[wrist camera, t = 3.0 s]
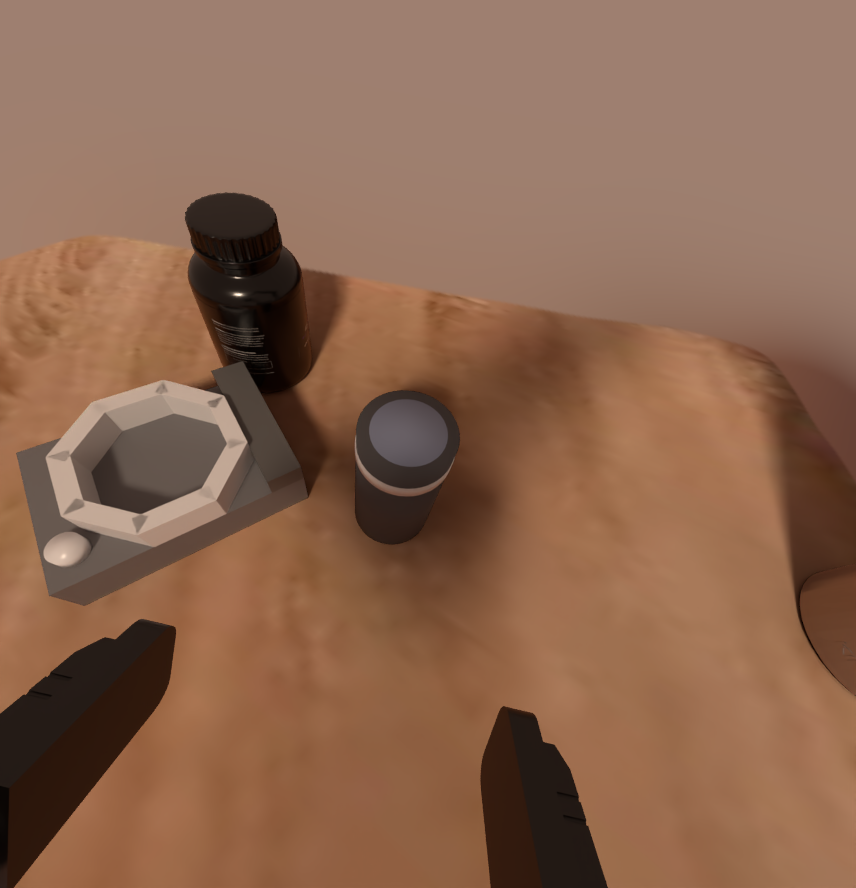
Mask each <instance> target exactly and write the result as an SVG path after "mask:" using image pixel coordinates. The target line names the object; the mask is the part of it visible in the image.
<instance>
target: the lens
mask: <svg viewBox="0 0 856 888" xmlns="http://www.w3.org/2000/svg"><path fill="white" fill-rule="evenodd" d="M459 442H460V433H459V428H458V425H457V422H456V420H455V418H454V417H453V415H452V414H451V412H450V411H449V410H448V409H447V408H446V407H445V406H444V405H443V404H442V403H440V402H439V401H438V400H436V399H434V398H433V397H431V396H428V395H426V394H423V393H420V392H415V391H405V390H401V391H393V392H389V393H386V394H383V395H381V396H379V397H377V398H375V399H374V400H372V401H371V402H370V403H369V404H368V405H367V406H366V407H365V408H364V409H363V411H362V412H361V414H360V416H359V418H358V422H357V427H356V438H355V457H356V477H355V515H356V519H357V522H358V524H359V526H360V528H361V529H362V530H363V532H364V533H365V534H366V535H367V536H369V537H370V538H372V539H373V540H375V541H377V542H380V543H385V544H399V543H403V542H406V541H408V540H410V539H412V538H413V537H414V536H416V535H417V534H418V533H419V531H420V530H421V529H422V527H423V526H424V523H425V521H426V519H427V517H428V515H429V512H430V510H431V508H432V506H433V504H434V501H435V499H436V497H437V495H438V493H439V490H440V488H441V486H442V484H443V482H444V479H445V478H446V476H447V475H448V473H449V471H450V469H451V466H452V464H453V462H454V459H455V455H456V453H457V451H458V447H459Z"/></svg>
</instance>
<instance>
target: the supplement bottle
mask: <svg viewBox="0 0 856 888" xmlns="http://www.w3.org/2000/svg"><path fill="white" fill-rule="evenodd" d="M185 215H186V216H185V221H186V224H187V227H188V230H189V232H190V235H191V243H192V246H193V249H194V251H195V253H194V254H193V256H192V258H191V260H190V262H189V266H188V280H189V284H190V286H191V289H192V292H193V294H194V297H195V299H196V302H197V304H198V307H199V309H200V312H201V314H202V317H203V319H204V321H205V324H206V326H207V329H208V331H209V334H210V336H211V339H212V341H213V344H214V346H215V349H216V351H217V353H218V356H219V358H220V361H221V363H222V365H223V367H226V366H229V365H232V364H235V363H238V362H241V361H243V363H244V364H245V366H246V368H247V370H248V372H249V373H250V375H251V377H252V379H253V381H254V383H255V384H256V386H257V388H258V390H259V392H274V391H280V390H283V389H286V388H289V387H291V386H293V385H295V384H296V383H298V382H299V381H300V380H301V379H303V377H304V376H305V375H306V374H307V372H308V371H309V369H310V366H311V363H312V350H311V341H310V333H309V325H308V317H307V309H306V301H305V293H304V286H303V278H302V272H301V268H300V266H299V264H298V262H297V260H296V259H295V257H294V256H293V255H292V253H291V252H290V251H289V250H288V249H287V248H285V247H284V246H283V245H282V239H281V235H280V232H279V229H278V222H277V217H276V214H275V212H274V210H273V208H271V207H270V205H269V204H267V203H265V202H264V201H263V200H260V199H258V198H256V197H253V196H250V195H245V194H238V193H217V194H213V195H208V196H205V197H202V198H200V199H198V200H196V201H195V202H194V203H191V205H190V206H189V207H188V208H187V211H186V212H185Z"/></svg>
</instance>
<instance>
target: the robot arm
mask: <svg viewBox="0 0 856 888" xmlns="http://www.w3.org/2000/svg"><path fill="white" fill-rule="evenodd" d="M800 610H801V617H802V621H803V624H804V627H805V630H806V633H807V635H808V637H809V639H810V641H811V643H812V645H813V647H814V649H815V650H816V652H817V653H818V655H819V657H820V658H821V660H822V661H823V663H824V664H825V665H826V667H827V668H828V669H829V670H830V671H831V673H832V674H833V675H834V676H835V677H836V679H837V680H838V681H840V682H841V683H842V684H843V685H844V686H845V687H846V688H847V689H848V690H849V691H850V692H851V693H853V694H854V695H855V696H856V564H852V565H847V566H843V567H839V568H835V569H830V570H826V571H822V572H818V573H816V574H814V575H812V576H810V577H809V578H808V579H807V580H806V582H805V583H804V585H803V587H802V590H801V593H800ZM175 637H176V629H175V627H174V626H170V625H166V624H162V623H158V622H153V621H149V620H145V619H140V620H138V621H136V622H135V623H134V624H132V625H131V626H130V627H129V628H128V629H127V630H126V631H125V632H123V633H122V634H121V635H120V636H119V637H118V638H117V639H116V640H114V639H110V638H106V637H104V638H102V639H100V640H98V641H96V642H94V643H92V644H90V645H88V646H86V647H84V648H82V649H80V650H78V651H76V652H75V653H73V654H72V655H71V656H70V657H69V658H67V659H66V660H65V661H64V662H63V663H61V664H60V665H59V666H58V667H56V668H55V669H54V670H53V671H52V672H50V675H49V676H48V677H44V678H43V679H42V680H41V681H39V682H38V683H37V684H36V685H35V686H33V687H32V688H31V689H30V690H29V692H28V693H27V694H26V695H22V696H21V697H20V698H19V699H18V700H16V701H15V702H14V703H13V704H12V705H10V706H9V707H8V708H7V709H5V710H4V711H3V712H2V713H1V714H0V888H14V887H15V885H16V884H17V883H18V881H19V880H20V879H21V878H22V876H23V875H24V874H25V873H26V871H27V870H28V869H29V868H30V866H31V865H32V864H33V863H34V861H35V860H36V859H37V858H38V856H39V855H40V854H41V853H42V851H43V850H44V849H45V847H46V846H47V845H48V844H49V842H50V841H51V840H52V839H53V837H54V836H55V835H56V834H57V832H58V831H59V830H60V829H61V827H62V826H63V825H64V824H65V822H66V821H67V820H68V819H69V817H70V816H71V815H72V813H73V812H74V811H75V810H76V808H77V807H78V806H79V805H80V803H81V802H82V801H83V800H84V798H85V797H86V796H87V795H88V793H89V792H90V791H91V790H92V788H93V787H94V786H95V785H96V783H97V782H98V781H99V779H100V778H101V777H102V776H103V774H104V773H105V772H106V771H107V769H108V768H109V767H110V766H111V764H112V763H113V762H114V761H115V759H116V758H117V757H118V756H119V754H120V753H121V752H122V751H123V749H124V748H125V747H126V745H127V744H128V743H129V742H130V740H131V739H132V738H133V737H134V735H135V734H136V733H137V732H138V730H139V729H140V728H141V727H142V725H143V724H144V723H145V722H146V720H147V719H148V718H149V716H150V715H151V714H152V713H153V711H154V710H155V709H156V707H157V706H158V704H159V703H160V701H161V699H162V698H163V696H164V694H165V691H166V689H167V687H168V684H169V680H170V675H171V667H172V660H173V652H174V645H175ZM481 794H482V804H483V814H484V824H485V834H486V844H487V854H488V864H489V874H490V884H491V888H608V887H607V884H606V881H605V878H604V874H603V871H602V868H601V865H600V862H599V859H598V856H597V852H596V849H595V846H594V843H593V840H592V837H591V834H590V830H589V827H588V826H586V818H585V815H584V812H583V808H582V805H581V802H579V800H578V798H579V796H578V793H577V790H576V786H575V783H574V780H573V777H572V774H571V771H570V769H569V767H568V765H567V764H566V762H565V761H564V759H563V758H562V756H561V754H560V753H559V751H558V750H557V748H556V746H555V745H553V744H549V743H545V742H543V740H542V736H541V732H540V729H539V725H538V721H537V718H536V716H535V715H534V714H533V713H530V712H526V711H521V710H517V709H513V708H509V707H505V706H503V707H502V708H501V709H500V711H499V713H498V716H497V719H496V722H495V724H494V727H493V730H492V732H491V735H490V738H489V741H488V743H487V746H486V749H485V751H484V755H483V759H482V765H481Z"/></svg>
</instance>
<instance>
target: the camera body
mask: <svg viewBox="0 0 856 888" xmlns="http://www.w3.org/2000/svg"><path fill="white" fill-rule="evenodd" d="M211 372H212V374H213V376H214V378H215V380H216V383H217V385H218V386H216V387H213V388H210V389H207V390H200V389H197V388H193V387H189V386H185V385H181V384H177V383H174V382H170V381H166V380H162V381H158V382H155V383H152V384H149V385H145V386H142V387H139V388H136V389H133V390H129V391H126V392H123V393H120V394H116V395H113V396H110V397H107V398H104V399H100V400H97V401H94V402H92V403H91V404H90V405H89V406H88V407H87V409H86V410H85V411H84V412H83V413H82V414H81V416H80V417H79V418H78V419H77V420H76V422H75V423H74V424H73V425H72V426H71V427H70V429H69V430H68V431H67V432H66V433H65V435H64V436H63V437H62V438H60V439H57V440H54V441H51V442H48V443H45V444H42V445H39V446H36V447H33V448H30V449H27V450H24V451H21V452H18V453H16V454H17V458H18V462H19V467H20V471H21V475H22V480H23V484H24V488H25V493H26V497H27V501H28V506H29V510H30V514H31V519H32V523H33V527H34V532H35V536H36V541H37V545H38V549H39V554H40V558H41V562H42V567H43V571H44V575H45V580H46V584H47V588H48V593H49V596H52V597H55V598H59V599H63V600H66V601H70V602H73V603H77V604H80V605H84V606H85V605H87V604H89V603H91V602H94V601H96V600H98V599H100V598H102V597H104V596H106V595H108V594H110V593H112V592H114V591H116V590H118V589H120V588H122V587H124V586H127V585H129V584H131V583H133V582H135V581H137V580H139V579H141V578H143V577H145V576H147V575H149V574H151V573H153V572H155V571H157V570H160V569H162V568H164V567H166V566H168V565H170V564H172V563H174V562H176V561H178V560H180V559H182V558H184V557H186V556H188V555H191V554H193V553H195V552H197V551H199V550H201V549H203V548H205V547H207V546H209V545H211V544H213V543H215V542H217V541H219V540H221V539H224V538H226V537H228V536H230V535H232V534H234V533H236V532H238V531H240V530H242V529H244V528H246V527H248V526H250V525H252V524H255V523H257V522H259V521H261V520H263V519H265V518H267V517H269V516H271V515H273V514H275V513H277V512H279V511H281V510H283V509H285V508H288V507H290V506H292V505H294V504H296V503H298V502H300V501H302V500H304V499H306V498H308V494H307V490H306V485H305V481H304V477H303V473H302V469H301V466H300V464H299V462H298V460H297V459H296V457H295V455H294V453H293V451H292V450H291V448H290V446H289V444H288V442H287V441H286V439H285V437H284V435H283V433H282V431H281V430H280V428H279V426H278V424H277V422H276V421H275V419H274V417H273V415H272V413H271V412H270V410H269V408H268V406H267V404H266V402H265V401H264V399H263V397H262V395H261V393H260V392H259V390H258V388H257V386H256V384H255V383H254V381H253V379H252V377H251V375H250V373H249V372H248V370H247V368H246V366H245V364H244V363H243V361H241V362H238V363H235V364H232V365H229V366H226V367H222V368H219V369H216V370H213V371H211Z"/></svg>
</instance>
